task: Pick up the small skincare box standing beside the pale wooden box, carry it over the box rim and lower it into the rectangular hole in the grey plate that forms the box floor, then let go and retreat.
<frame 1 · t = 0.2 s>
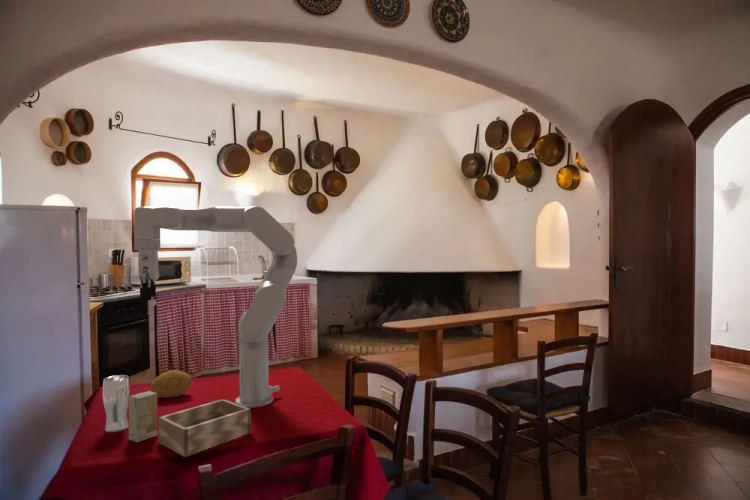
hand: (148, 298, 157), 37 cm above the table, tool pointing down, fingers open, 9 cm apart
potato: (172, 397, 173), on the table
beer glass: (116, 429, 144), on the table
insert box: (205, 437, 136), on the table
skincare box: (143, 438, 137), on the table
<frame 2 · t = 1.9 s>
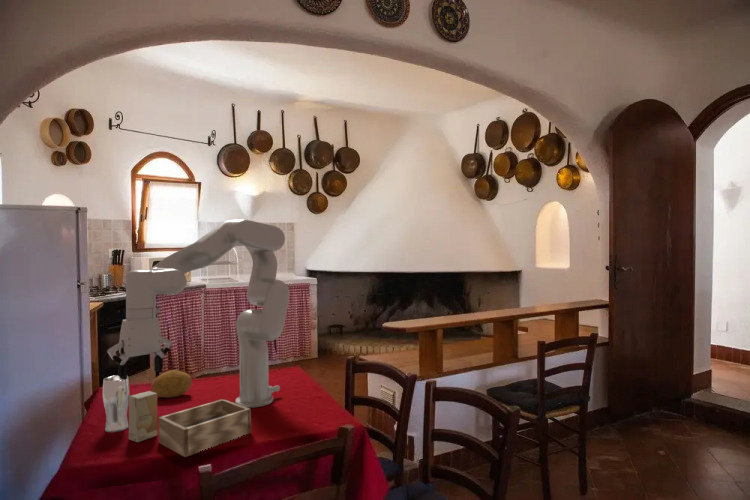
hand: (141, 375, 137), 18 cm above the table, tool pointing down, fingers open, 9 cm apart
nothing on the table moved.
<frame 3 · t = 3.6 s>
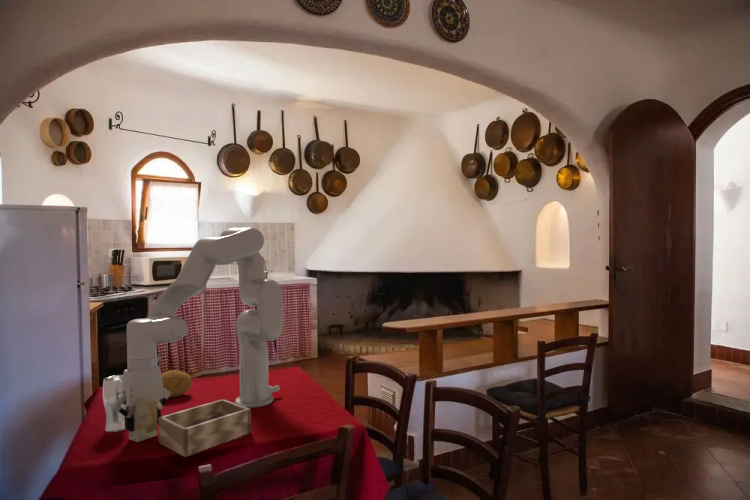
hand: (143, 426, 137), 3 cm above the table, tool pointing down, fingers closed on skincare box, 6 cm apart
skincare box: (143, 438, 137), on the table, touching gripper
everything else where it was.
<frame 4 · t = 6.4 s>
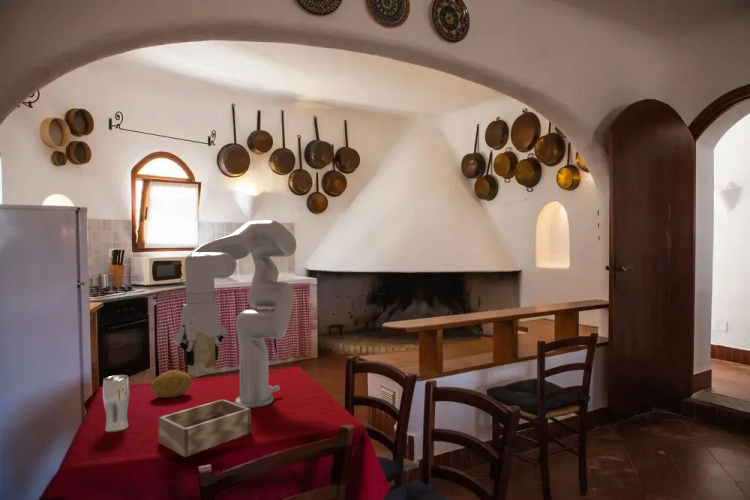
hand: (201, 361, 136), 21 cm above the table, tool pointing down, fingers closed on skincare box, 6 cm apart
skincare box: (202, 374, 136), point 18 cm above the table, touching gripper
everything else where it was.
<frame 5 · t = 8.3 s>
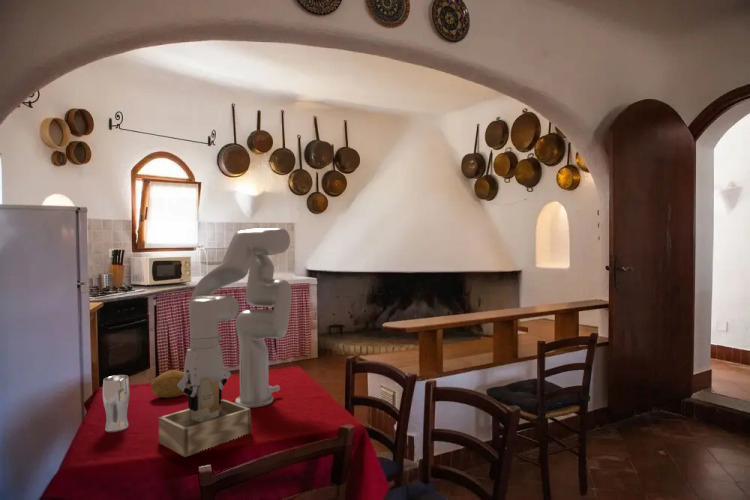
hand: (205, 406, 136), 9 cm above the table, tool pointing down, fingers closed on skincare box, 6 cm apart
skincare box: (205, 418, 136), point 6 cm above the table, touching gripper
everything else where it was.
when the fingers open (5 cm above the table, at t = 9.5 s): skincare box drops 2 cm, resting in insert box.
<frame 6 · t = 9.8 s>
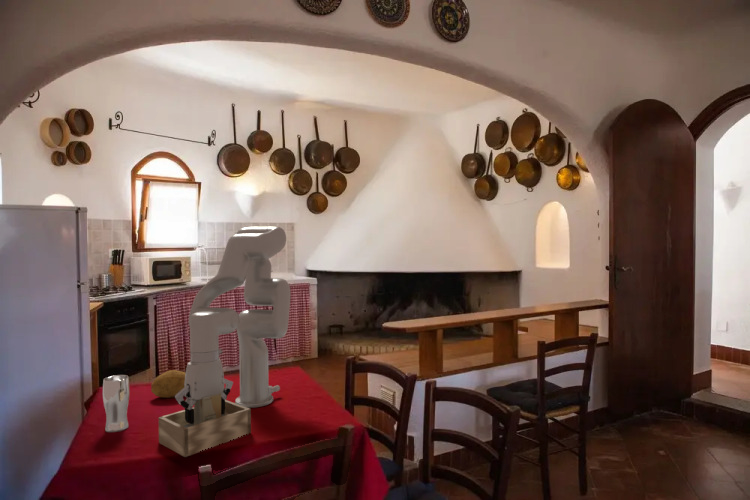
hand: (205, 417, 136), 6 cm above the table, tool pointing down, fingers open, 9 cm apart
skincare box: (208, 437, 137), resting in insert box
everything else where it was.
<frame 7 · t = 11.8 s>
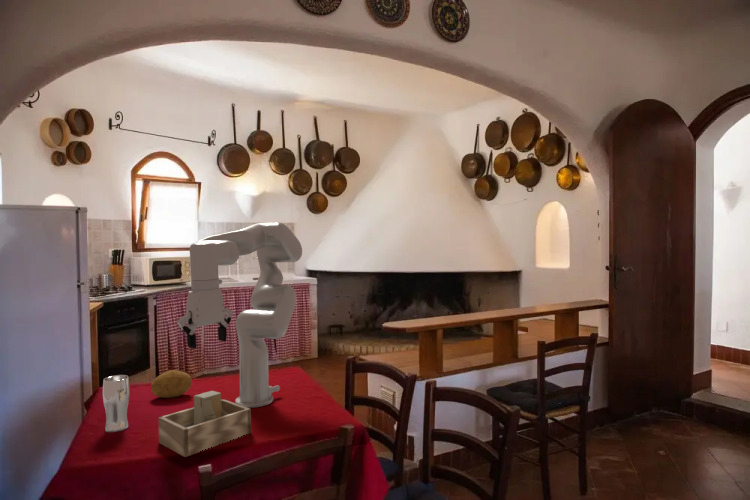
hand: (207, 344, 141), 25 cm above the table, tool pointing down, fingers open, 9 cm apart
nothing on the table moved.
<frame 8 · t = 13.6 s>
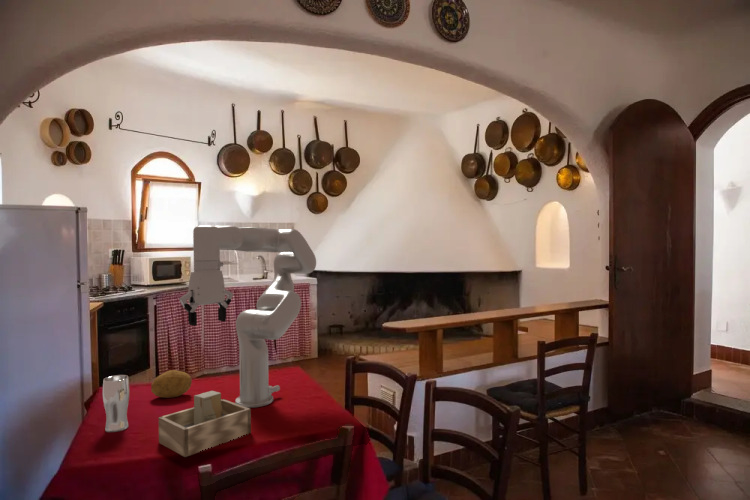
hand: (207, 323, 148), 30 cm above the table, tool pointing down, fingers open, 9 cm apart
nothing on the table moved.
at the end: skincare box inside the target area on the insert box (0.6 cm from its centre), point 0.0 cm above the insert box's base; skincare box tilted 0°; the gripper is holding nothing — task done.
